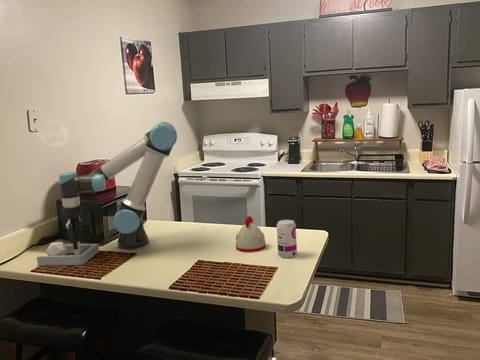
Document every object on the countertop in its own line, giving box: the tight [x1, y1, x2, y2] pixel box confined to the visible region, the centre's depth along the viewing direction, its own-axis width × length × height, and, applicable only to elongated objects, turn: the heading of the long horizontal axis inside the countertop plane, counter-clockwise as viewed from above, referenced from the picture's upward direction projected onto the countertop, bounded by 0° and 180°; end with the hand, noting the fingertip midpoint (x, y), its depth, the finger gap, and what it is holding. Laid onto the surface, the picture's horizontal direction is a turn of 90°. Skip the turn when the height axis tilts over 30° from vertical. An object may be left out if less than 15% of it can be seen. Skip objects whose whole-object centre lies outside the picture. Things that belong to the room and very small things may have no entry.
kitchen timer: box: [235, 215, 267, 253], centre depth 207 cm, size 14×14×15 cm
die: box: [45, 241, 68, 256], centre depth 209 cm, size 8×9×10 cm
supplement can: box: [276, 219, 298, 259], centre depth 193 cm, size 8×8×15 cm
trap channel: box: [36, 243, 100, 267], centre depth 208 cm, size 22×17×4 cm
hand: (77, 255), depth 208 cm, fingers closed
